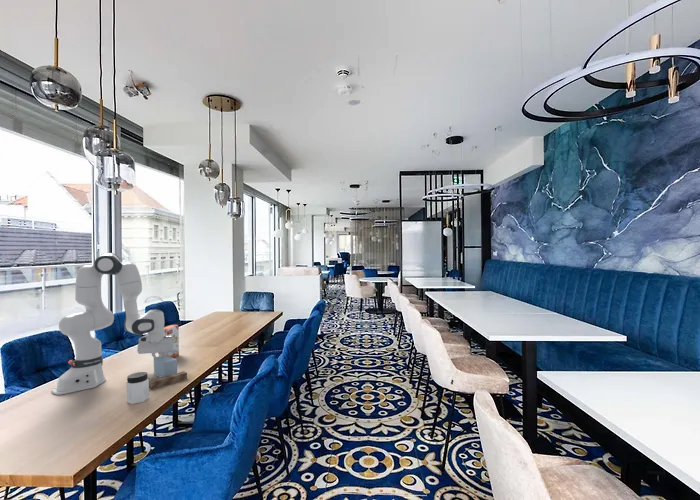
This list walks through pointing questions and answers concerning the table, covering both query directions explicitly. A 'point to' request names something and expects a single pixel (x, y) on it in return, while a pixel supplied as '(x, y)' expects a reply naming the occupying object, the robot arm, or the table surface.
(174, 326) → the cracker box
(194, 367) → the table surface
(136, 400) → the jar
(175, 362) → the brick
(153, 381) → the board
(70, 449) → the table surface
